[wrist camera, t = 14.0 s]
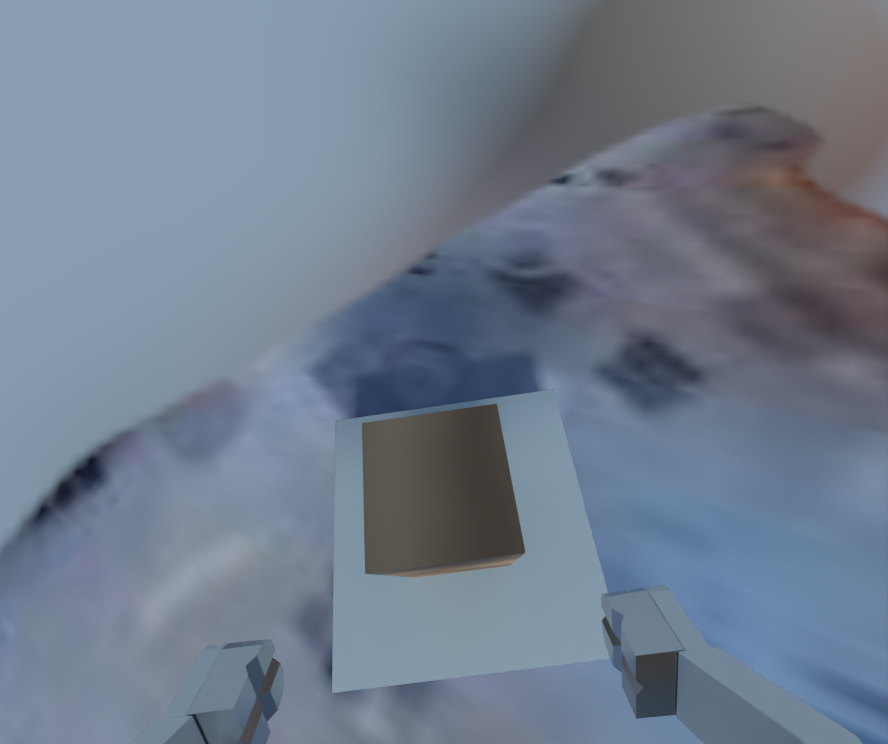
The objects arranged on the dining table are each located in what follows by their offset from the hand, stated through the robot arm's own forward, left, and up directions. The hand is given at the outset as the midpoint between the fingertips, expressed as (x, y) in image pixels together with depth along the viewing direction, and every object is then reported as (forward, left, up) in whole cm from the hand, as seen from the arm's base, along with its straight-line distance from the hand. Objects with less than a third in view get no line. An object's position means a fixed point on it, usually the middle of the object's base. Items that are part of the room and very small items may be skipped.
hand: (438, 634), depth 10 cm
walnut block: (0, +4, -12) cm, 13 cm away
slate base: (0, +4, -16) cm, 17 cm away
